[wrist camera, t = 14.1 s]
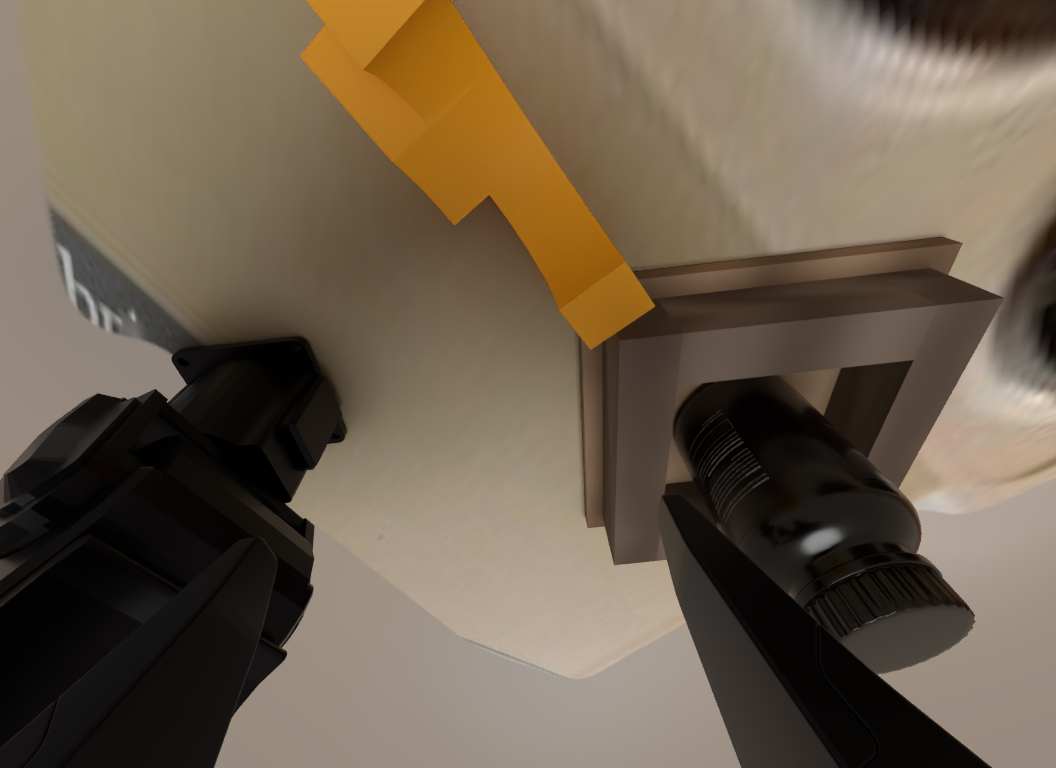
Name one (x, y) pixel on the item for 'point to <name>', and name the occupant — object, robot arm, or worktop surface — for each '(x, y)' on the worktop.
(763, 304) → the grey-brown square frame
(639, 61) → the worktop surface
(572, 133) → the worktop surface
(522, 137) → the orange notched part
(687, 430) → the supplement bottle
